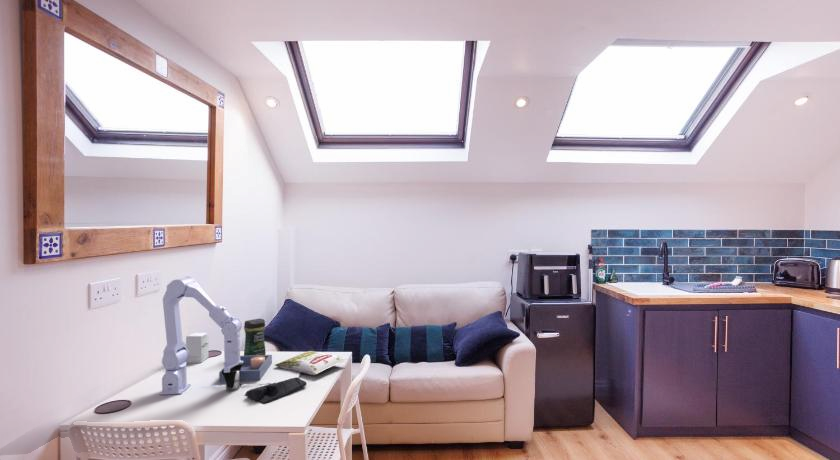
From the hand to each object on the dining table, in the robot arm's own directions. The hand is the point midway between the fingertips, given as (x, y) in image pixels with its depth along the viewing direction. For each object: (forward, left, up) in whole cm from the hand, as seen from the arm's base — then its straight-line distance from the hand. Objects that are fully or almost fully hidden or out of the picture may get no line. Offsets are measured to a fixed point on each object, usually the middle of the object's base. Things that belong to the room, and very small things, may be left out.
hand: (232, 384), depth 180 cm
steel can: (0, 0, -2) cm, 2 cm away
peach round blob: (+23, -4, -1) cm, 23 cm away
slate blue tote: (+17, -1, -2) cm, 17 cm away
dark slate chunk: (-5, -18, -2) cm, 19 cm away
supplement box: (+40, +28, -2) cm, 49 cm away
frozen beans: (+22, -27, -2) cm, 35 cm away
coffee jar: (+42, +2, -2) cm, 42 cm away
